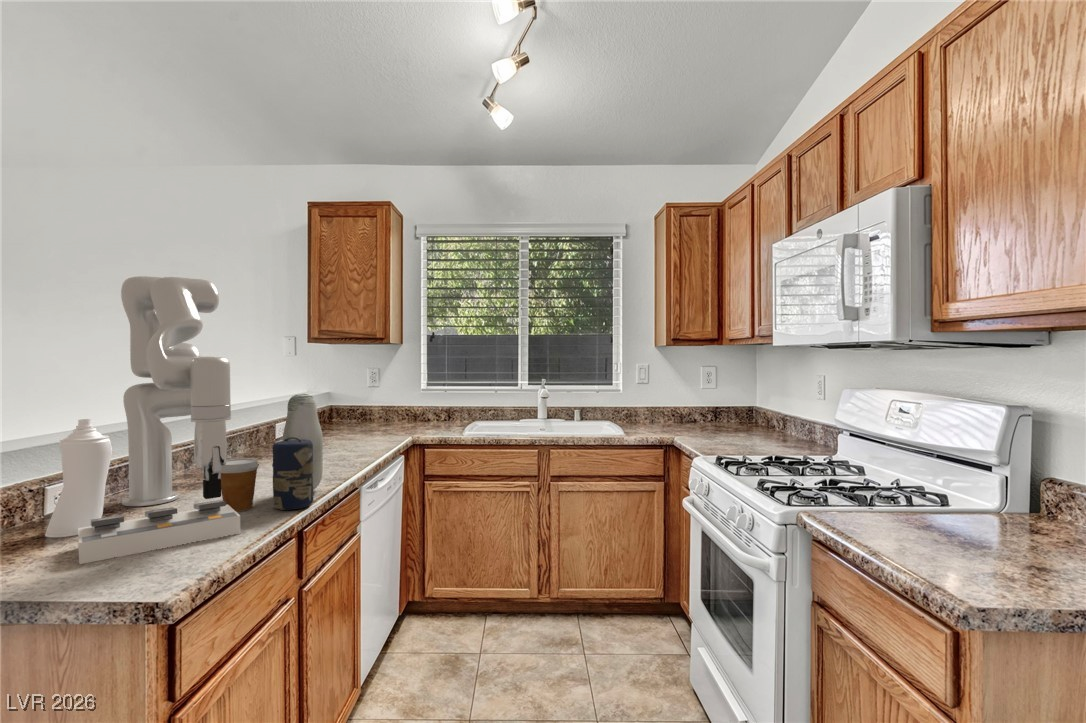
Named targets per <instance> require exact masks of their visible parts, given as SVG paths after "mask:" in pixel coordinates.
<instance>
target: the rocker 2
mask: <svg viewBox="0 0 1086 723" xmlns="http://www.w3.org/2000/svg"><path fill="white" fill-rule="evenodd" d="M222 506H226V501H223V500H221V499H220V500H219V499H218V500H211V501H205V502H204V501H203V502H197V503H193V510H196V509H198V510H203V509H209V508H215V507H222Z"/></svg>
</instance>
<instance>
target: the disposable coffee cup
mask: <svg viewBox="0 0 1086 723" xmlns="http://www.w3.org/2000/svg"><path fill="white" fill-rule="evenodd" d="M259 467H260V464H259V463H258V460H257V459H256V458H248V457H247V458H243V457H242V458H234V459H227V461H226V464H225V465H224V466H221V497H222V501H226V505H229V506H230V507H231V508H232V509H234V510H235V511H236V512H242V511H241V510H243V511H247V510H251V508H253V506H254V494H255V487H256V480H257V479H256V478H257V472H258V468H259Z"/></svg>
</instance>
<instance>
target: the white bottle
mask: <svg viewBox="0 0 1086 723" xmlns="http://www.w3.org/2000/svg"><path fill="white" fill-rule="evenodd" d="M77 424H78V425H76V426H75V428H74V429H73V430H72V433H70V434H69V435H67V436H66V437H63V438H60V439H59V441H60V442H59V443H58V446H59V449H60V450H59V451H60V454H61V455H60V456H61V465H62V466H61V468H62V469H61V470H62V481H63V488H62V490H61V492H60V495H59V496H58V498H57V499H58V500H57V502H56V505H55V507H54V510H53V512H52V515H51V517H50V520H49V522H48V525H47V529H46V531H45V533H44V536H45V537H46V538H55V539H56V538H67V537H74V536H78V528H82V527H88V526H91V519H98V518H103V515H104V513H103V512H104V504H105V493H106V484H107V483H106V482H107V478H108V474H109V470H110V465H111V459H112V455H113V446H112V441H111V439H110V435H107V434H102V433H101V432H99V431H97V430H98V429H97V428H96V427H94V425H93V424H92V419H91V418H85V419H78V420H77Z"/></svg>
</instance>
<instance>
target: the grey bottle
mask: <svg viewBox="0 0 1086 723" xmlns="http://www.w3.org/2000/svg"><path fill="white" fill-rule="evenodd" d="M286 409H287V413H286V414H287V415H286V420H285V424H284V428H283V433H282V441H284V440H285V439H287V438H290V437H295V438H298V439H306V440H310V441H312V443H313V491H315V489H317V487H318V486H319V485H320V483H321V481H322V478H323V470H324V469H323V461H324V458H323V457H324V456H323V454H324V453H323V451H324V444H323V443H324V441H323V440H324V438H323V436H324V435H323V431H322V426H321V424H320V421H319V420H320V419H319V416H318V415H319V414H318V411H317V402H316V399H315V397H313V395H311V394H309V393H308V394H307V393H300V394H299V393H298V394H294V395H292V396H291V397H290V398H289V399H288V402H287V408H286ZM289 440H297V439H289Z"/></svg>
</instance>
